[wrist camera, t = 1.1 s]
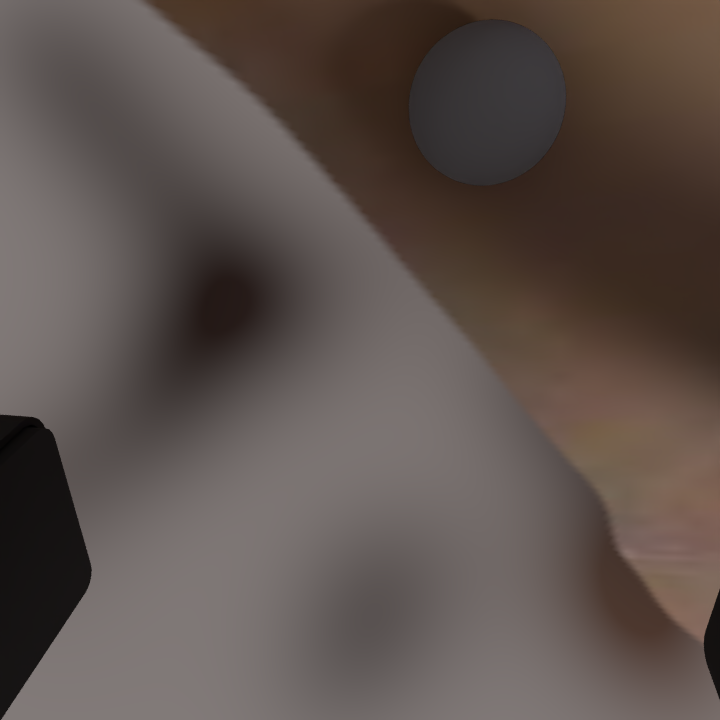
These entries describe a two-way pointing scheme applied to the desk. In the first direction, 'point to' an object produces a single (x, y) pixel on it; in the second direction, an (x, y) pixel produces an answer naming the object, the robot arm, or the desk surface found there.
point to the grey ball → (487, 102)
